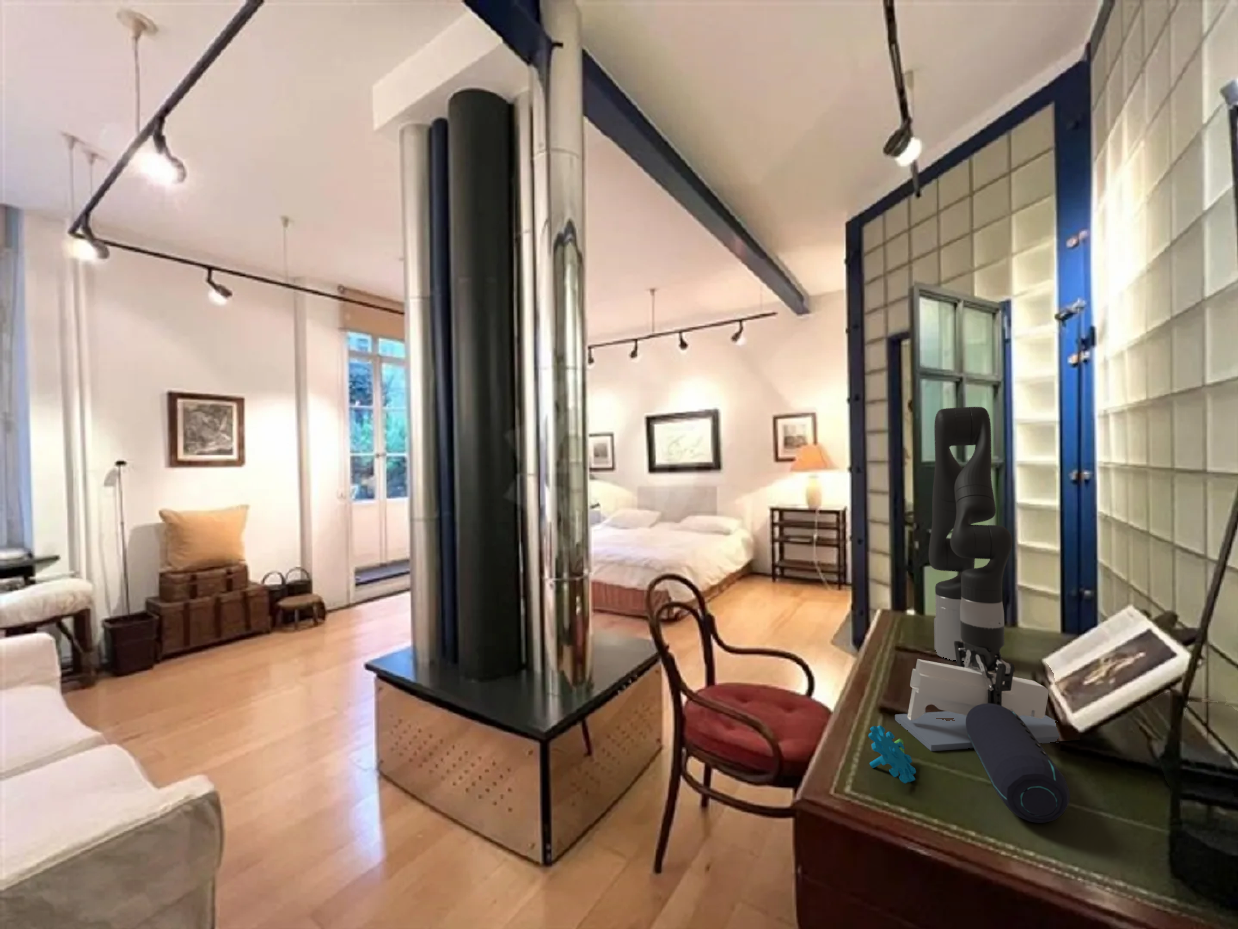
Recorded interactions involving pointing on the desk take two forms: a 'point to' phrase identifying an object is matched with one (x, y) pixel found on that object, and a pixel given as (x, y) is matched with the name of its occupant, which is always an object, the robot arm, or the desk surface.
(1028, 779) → the portable speaker
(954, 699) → the shelf bracket
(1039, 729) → the plate
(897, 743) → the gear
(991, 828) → the desk surface
